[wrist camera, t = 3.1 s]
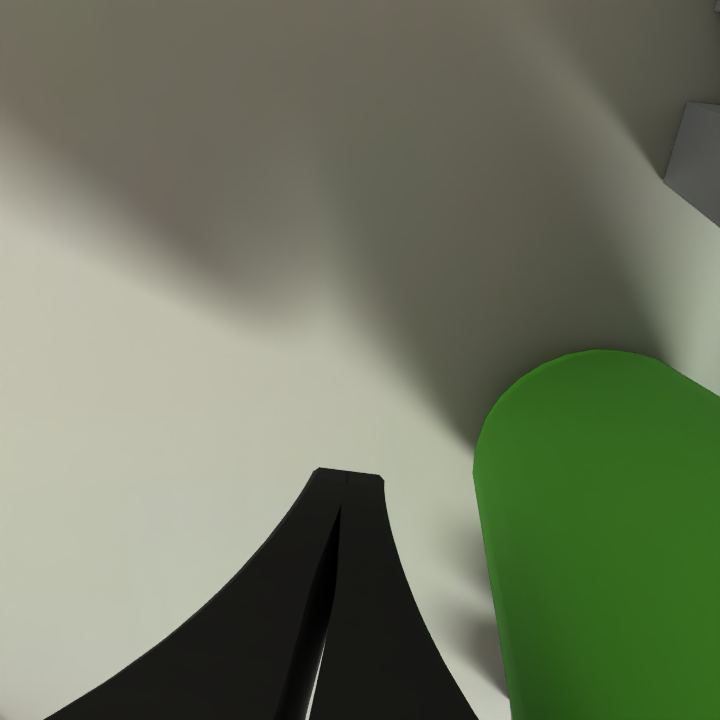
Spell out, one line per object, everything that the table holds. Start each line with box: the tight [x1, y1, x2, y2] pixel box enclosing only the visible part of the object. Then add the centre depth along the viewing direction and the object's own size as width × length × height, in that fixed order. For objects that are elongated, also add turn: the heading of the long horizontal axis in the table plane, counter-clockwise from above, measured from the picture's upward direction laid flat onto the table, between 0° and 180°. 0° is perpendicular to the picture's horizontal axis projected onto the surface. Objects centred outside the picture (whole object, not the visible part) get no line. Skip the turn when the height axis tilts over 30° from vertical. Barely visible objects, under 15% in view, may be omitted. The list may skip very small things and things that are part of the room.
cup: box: [473, 349, 720, 720], centre depth 11 cm, size 9×9×11 cm
